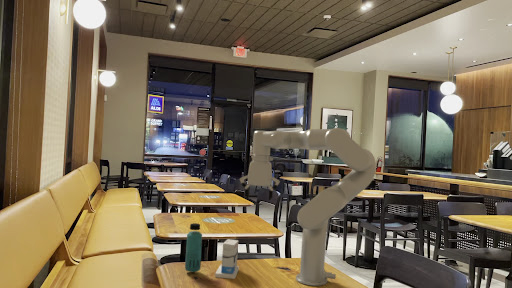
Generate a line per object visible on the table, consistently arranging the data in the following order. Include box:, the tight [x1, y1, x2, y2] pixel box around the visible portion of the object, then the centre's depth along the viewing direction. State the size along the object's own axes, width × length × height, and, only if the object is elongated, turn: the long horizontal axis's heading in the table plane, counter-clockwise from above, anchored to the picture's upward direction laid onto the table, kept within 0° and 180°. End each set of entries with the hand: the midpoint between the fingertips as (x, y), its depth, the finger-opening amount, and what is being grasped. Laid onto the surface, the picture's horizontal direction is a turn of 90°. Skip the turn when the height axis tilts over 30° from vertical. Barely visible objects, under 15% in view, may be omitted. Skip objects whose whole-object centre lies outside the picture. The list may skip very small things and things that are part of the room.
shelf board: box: [214, 264, 240, 280], centre depth 162 cm, size 8×12×2 cm
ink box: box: [221, 238, 239, 274], centre depth 161 cm, size 8×5×12 cm, turn 171°
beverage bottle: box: [184, 223, 203, 273], centre depth 160 cm, size 6×7×20 cm
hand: (258, 199), depth 169 cm, fingers open, 9 cm apart
